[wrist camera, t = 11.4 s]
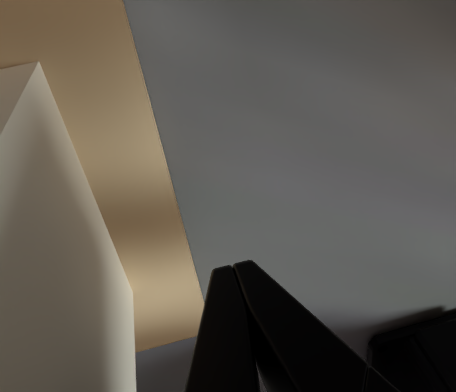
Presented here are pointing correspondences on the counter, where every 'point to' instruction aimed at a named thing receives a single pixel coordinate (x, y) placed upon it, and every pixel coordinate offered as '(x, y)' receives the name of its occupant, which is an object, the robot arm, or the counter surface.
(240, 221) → the counter surface
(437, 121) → the counter surface
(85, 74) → the mat
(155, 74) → the counter surface
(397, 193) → the counter surface
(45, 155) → the cream box
